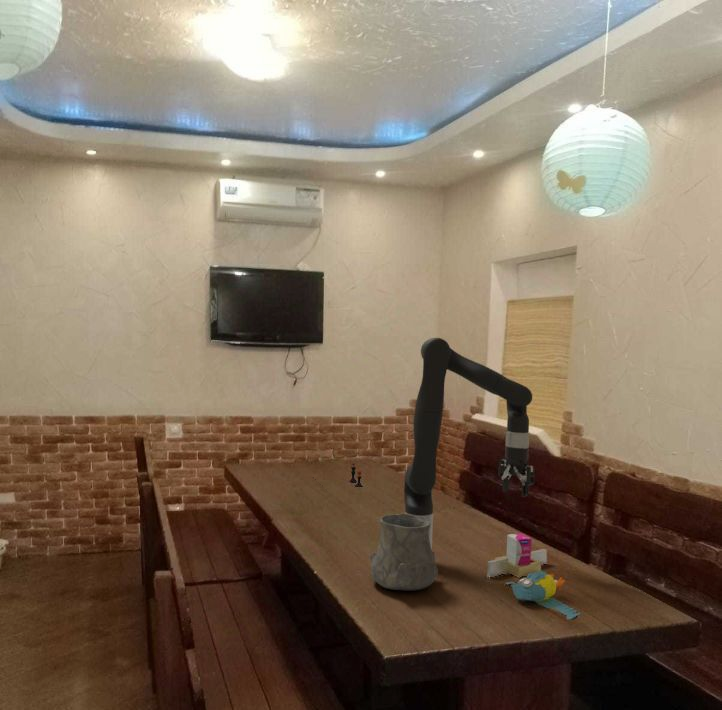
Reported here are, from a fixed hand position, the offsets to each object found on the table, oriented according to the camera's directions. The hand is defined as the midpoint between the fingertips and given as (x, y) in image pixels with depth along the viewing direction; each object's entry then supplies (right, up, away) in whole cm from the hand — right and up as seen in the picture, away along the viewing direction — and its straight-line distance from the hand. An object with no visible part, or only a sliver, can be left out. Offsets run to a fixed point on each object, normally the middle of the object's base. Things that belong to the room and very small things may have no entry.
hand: (515, 493), depth 213 cm
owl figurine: (0, -26, -28) cm, 38 cm away
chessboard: (-52, -21, +117) cm, 130 cm away
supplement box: (0, -25, -4) cm, 25 cm away
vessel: (-39, -24, -19) cm, 50 cm away
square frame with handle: (0, -24, -4) cm, 25 cm away
